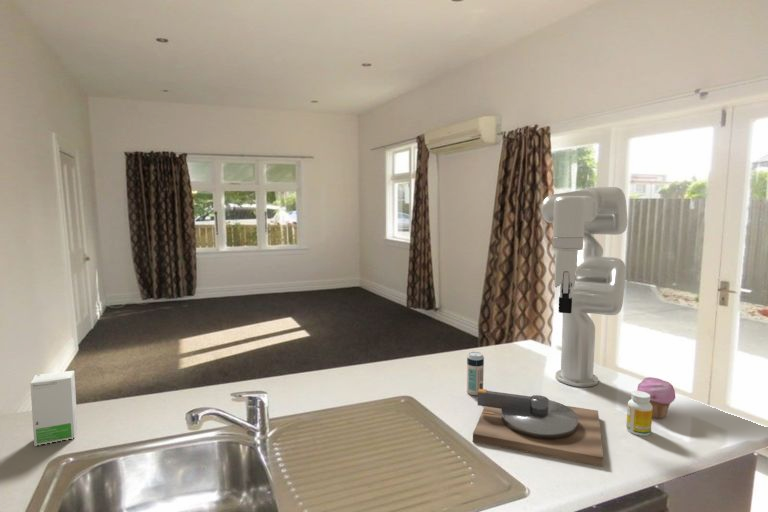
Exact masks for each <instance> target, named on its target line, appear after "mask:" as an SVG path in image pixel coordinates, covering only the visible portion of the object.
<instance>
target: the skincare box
mask: <svg viewBox="0 0 768 512" xmlns="http://www.w3.org/2000/svg"><path fill="white" fill-rule="evenodd" d="M75 380H76V378H75V370H66V371H55V372H49V373H43V374H42V373H40V374H35V375H34V376H33V378H32V380H31V382H30V399H31V414H32V415H31V416H32V430H33V444H34V447H38V446H37V445H39V446H42V445H41V444H45V445H48V444H47V443H50V444H53V443H52V442H56V443H58V442H57V441H61V442H63V441H62V440H66V441H68V440H67V439H72V438H74V439H75V438H76V435H77V431H78V414H77V413H78V411H77V399H76V398H77V395H76V394H77V393H76V381H75ZM72 440H73V439H72Z"/></svg>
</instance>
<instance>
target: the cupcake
mask: <svg viewBox="0 0 768 512" xmlns="http://www.w3.org/2000/svg"><path fill="white" fill-rule="evenodd" d="M636 391H642V392H646V393H648V394H649V395H650V403H651V404H652V407H653V410H652V419H663V418H665V417H667V414H668V410H669V406H670V405H671V404H672V403H673V402H674V401H675V400H676V390H675V387H674V385H673V384H672V383H670V382H669V381H666V380H663V379H660V378H656V377H650V376H648V377H644V379H642V381H641V382H640V383H638V384H637V390H636Z"/></svg>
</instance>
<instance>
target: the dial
mask: <svg viewBox="0 0 768 512" xmlns="http://www.w3.org/2000/svg"><path fill="white" fill-rule="evenodd" d="M477 406H479V407H485V406H486V407H493V408H500V409H502V411H501V418H502V421H503V422H504V423H505V424H506V425H507V426H508V427H509V428H511V429H512V430H514V431H516V432H519V433H521V434H524V435H527V436H531V437H536V438H543V439H558V438H564V437H568V436H570V435H572V434H574V433H575V432H576V431H577V429H578V416H577V415H576V413H575V412H574V411H573V410H572V409H570V408H569V407H567V406H568V405H565V404H562V403H560V402H559V401H558V402H557V401H555V400H550V399H549V398H548V397H547V396H544V395H538V394H536V395H530V396H529V395H521V394H515V393H507V392H499V391H493V390H492V391H491V390H487V389H484V388H483V389H479V390H478V396H477Z"/></svg>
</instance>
